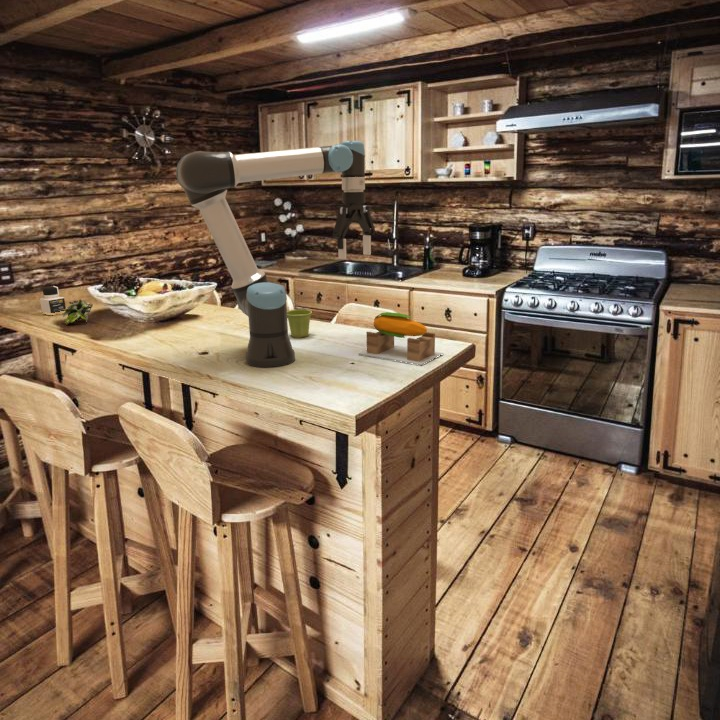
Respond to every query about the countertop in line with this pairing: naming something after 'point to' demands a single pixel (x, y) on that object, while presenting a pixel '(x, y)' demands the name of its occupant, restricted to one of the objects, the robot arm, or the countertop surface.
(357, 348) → the countertop surface
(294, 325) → the plant pot
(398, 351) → the mat
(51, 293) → the medicine bottle
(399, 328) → the corn
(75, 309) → the leafy green plant
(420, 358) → the wooden brackets on board
